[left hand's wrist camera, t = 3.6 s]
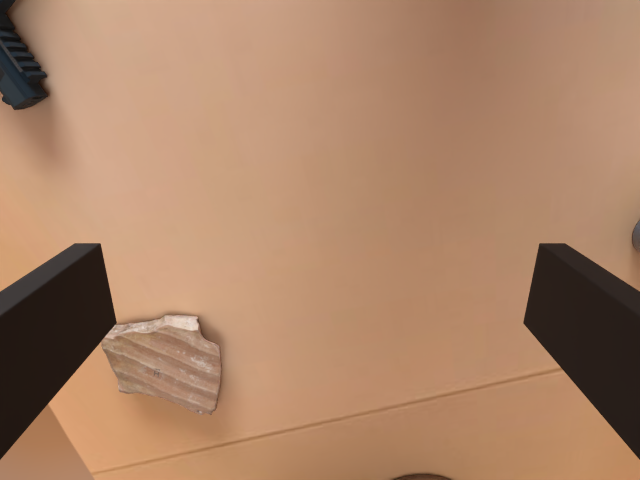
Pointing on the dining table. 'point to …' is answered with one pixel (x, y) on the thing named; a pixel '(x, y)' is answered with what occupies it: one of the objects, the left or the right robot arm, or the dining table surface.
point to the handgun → (17, 67)
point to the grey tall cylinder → (636, 237)
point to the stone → (166, 361)
